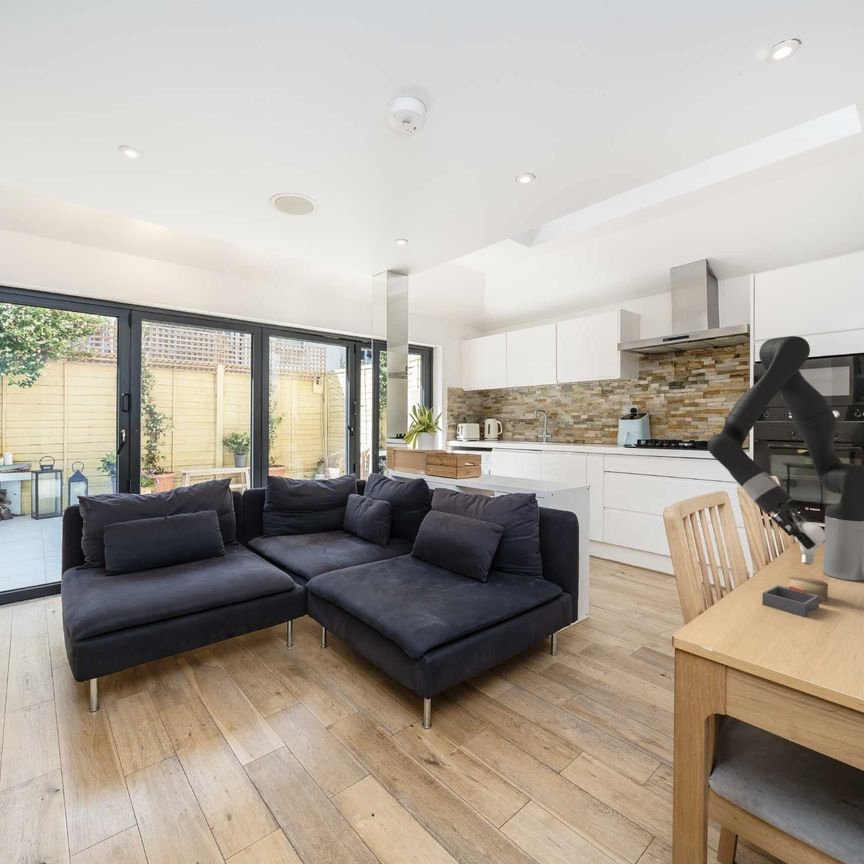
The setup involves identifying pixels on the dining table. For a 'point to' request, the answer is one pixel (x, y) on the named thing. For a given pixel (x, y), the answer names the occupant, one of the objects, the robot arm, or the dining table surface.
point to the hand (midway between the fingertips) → (816, 545)
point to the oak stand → (810, 586)
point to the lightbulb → (816, 536)
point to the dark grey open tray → (791, 600)
